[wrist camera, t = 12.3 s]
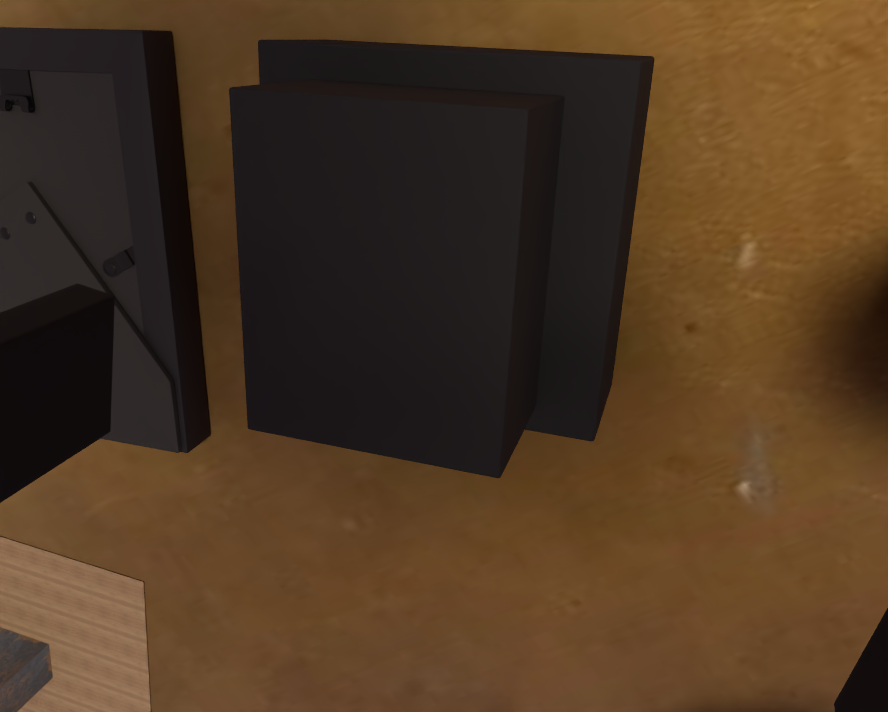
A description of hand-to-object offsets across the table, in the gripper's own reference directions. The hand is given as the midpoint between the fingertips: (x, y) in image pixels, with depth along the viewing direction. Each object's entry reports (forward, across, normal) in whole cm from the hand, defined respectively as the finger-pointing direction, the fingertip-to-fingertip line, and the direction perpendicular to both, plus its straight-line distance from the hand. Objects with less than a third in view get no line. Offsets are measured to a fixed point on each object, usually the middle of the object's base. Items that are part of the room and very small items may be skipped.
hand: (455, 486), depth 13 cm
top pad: (+14, -5, -1) cm, 15 cm away
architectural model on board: (+19, -30, -34) cm, 49 cm away
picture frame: (+19, -23, -7) cm, 31 cm away
